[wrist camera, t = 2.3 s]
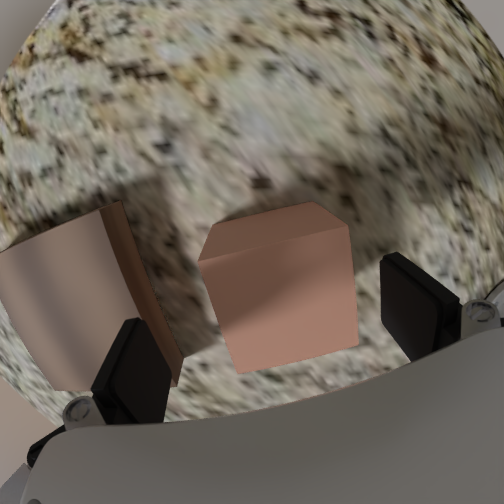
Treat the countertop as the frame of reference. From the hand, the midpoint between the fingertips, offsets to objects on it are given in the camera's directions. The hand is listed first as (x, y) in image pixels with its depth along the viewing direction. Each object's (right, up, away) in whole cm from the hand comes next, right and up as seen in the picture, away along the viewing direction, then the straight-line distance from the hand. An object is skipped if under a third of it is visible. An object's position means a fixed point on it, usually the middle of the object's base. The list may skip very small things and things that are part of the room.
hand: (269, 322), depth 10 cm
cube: (+1, +2, +7) cm, 7 cm away
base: (-13, -1, +8) cm, 15 cm away
